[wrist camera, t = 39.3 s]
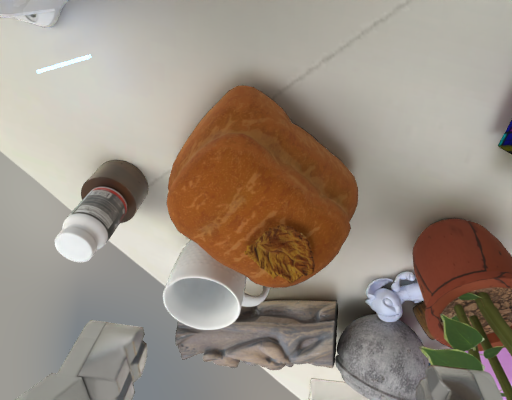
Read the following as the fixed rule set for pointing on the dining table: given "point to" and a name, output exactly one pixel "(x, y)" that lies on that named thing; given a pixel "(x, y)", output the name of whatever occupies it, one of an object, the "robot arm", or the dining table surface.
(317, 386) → the white cube
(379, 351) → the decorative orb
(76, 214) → the pill bottle
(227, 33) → the dining table surface
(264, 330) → the sculpture
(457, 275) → the potted plant
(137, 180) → the walnut plinth
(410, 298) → the toy figurine
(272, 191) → the bread
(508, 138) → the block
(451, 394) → the robot arm
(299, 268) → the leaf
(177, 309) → the mug
